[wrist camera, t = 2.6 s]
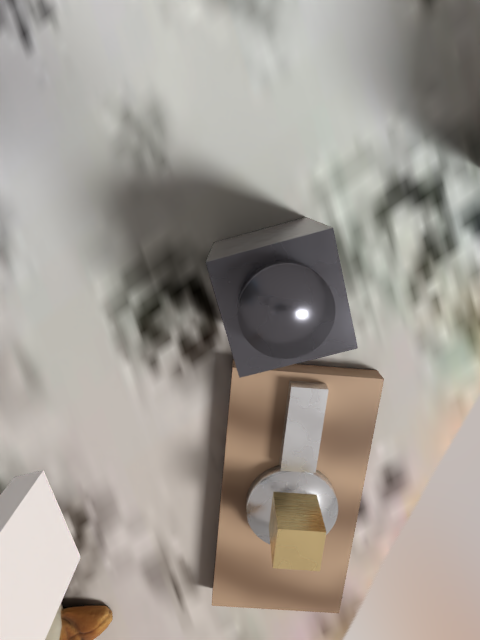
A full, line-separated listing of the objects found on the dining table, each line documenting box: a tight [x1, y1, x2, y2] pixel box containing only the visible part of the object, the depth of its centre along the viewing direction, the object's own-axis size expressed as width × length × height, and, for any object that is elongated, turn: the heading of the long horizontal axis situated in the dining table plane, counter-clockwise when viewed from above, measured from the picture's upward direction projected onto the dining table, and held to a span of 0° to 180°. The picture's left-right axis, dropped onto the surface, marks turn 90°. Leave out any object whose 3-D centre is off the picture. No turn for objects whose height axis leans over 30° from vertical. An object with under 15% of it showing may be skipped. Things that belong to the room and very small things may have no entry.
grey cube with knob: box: [206, 217, 358, 378], centre depth 24 cm, size 6×6×9 cm
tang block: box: [212, 359, 384, 613], centre depth 31 cm, size 20×10×6 cm, turn 175°
